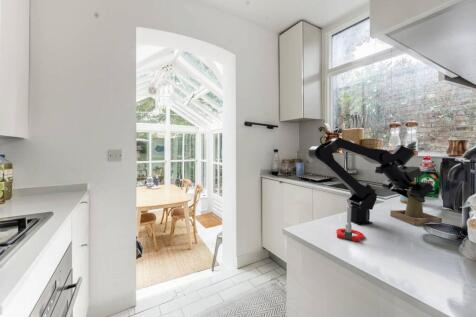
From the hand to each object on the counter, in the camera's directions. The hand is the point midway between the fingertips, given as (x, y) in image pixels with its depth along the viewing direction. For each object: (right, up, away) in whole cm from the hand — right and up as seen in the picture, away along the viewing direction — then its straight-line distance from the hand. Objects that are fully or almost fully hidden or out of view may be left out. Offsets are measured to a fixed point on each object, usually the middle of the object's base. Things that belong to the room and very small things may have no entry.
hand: (417, 200), depth 86 cm
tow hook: (-36, -9, -15) cm, 40 cm away
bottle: (+19, -7, +28) cm, 35 cm away
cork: (-1, -7, 0) cm, 7 cm away
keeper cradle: (-1, -8, 0) cm, 8 cm away
